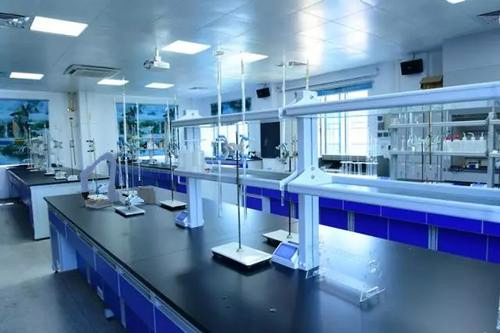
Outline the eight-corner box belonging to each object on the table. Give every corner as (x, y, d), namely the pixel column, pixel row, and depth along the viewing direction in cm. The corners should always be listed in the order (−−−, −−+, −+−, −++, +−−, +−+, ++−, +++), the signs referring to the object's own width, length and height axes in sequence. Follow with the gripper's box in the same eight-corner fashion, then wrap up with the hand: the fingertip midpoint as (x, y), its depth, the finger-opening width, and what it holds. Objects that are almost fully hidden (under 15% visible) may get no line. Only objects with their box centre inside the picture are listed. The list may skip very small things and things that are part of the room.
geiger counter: (156, 187, 293) (136, 185, 306) (150, 188, 288) (130, 186, 301) (157, 203, 294) (137, 200, 308) (151, 204, 289) (131, 202, 302)
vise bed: (101, 203, 299) (100, 198, 298) (112, 205, 290) (112, 199, 290) (85, 206, 287) (85, 201, 286) (97, 208, 278) (96, 202, 278)
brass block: (100, 203, 290) (100, 197, 290) (104, 204, 288) (104, 198, 287) (96, 204, 287) (96, 198, 287) (100, 205, 284) (99, 199, 284)
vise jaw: (95, 201, 301) (95, 197, 301) (101, 202, 296) (101, 198, 296) (82, 203, 291) (82, 200, 291) (88, 204, 286) (88, 201, 286)
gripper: (78, 186, 289) (79, 202, 290) (95, 184, 300) (96, 199, 301) (74, 186, 294) (75, 201, 295) (91, 183, 305) (92, 198, 306)
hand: (85, 200), depth 298 cm, fingers closed
